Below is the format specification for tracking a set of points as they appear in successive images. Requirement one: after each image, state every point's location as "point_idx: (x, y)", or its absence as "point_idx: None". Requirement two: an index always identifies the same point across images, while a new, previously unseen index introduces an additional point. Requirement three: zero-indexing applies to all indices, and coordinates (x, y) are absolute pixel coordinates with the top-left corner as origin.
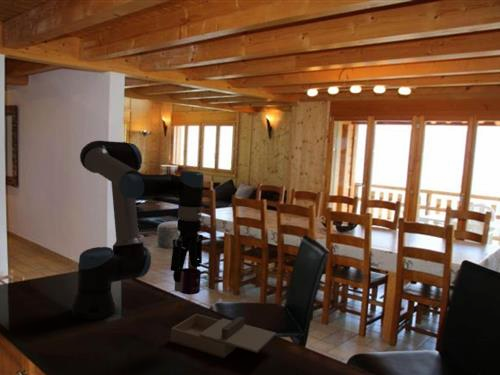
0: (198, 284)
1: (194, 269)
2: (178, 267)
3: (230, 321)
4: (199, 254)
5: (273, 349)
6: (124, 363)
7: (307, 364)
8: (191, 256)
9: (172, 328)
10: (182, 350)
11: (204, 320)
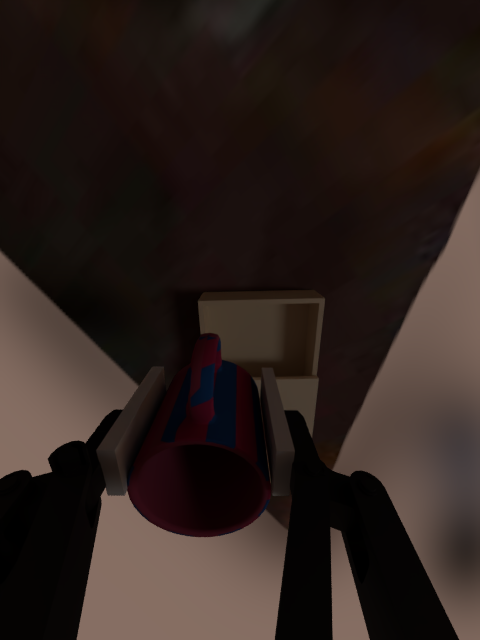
0: (212, 466)
1: (261, 481)
2: (19, 551)
3: (310, 400)
4: (370, 638)
5: None
6: (61, 277)
7: (275, 498)
8: (281, 587)
9: (198, 305)
10: (187, 336)
11: (313, 324)
